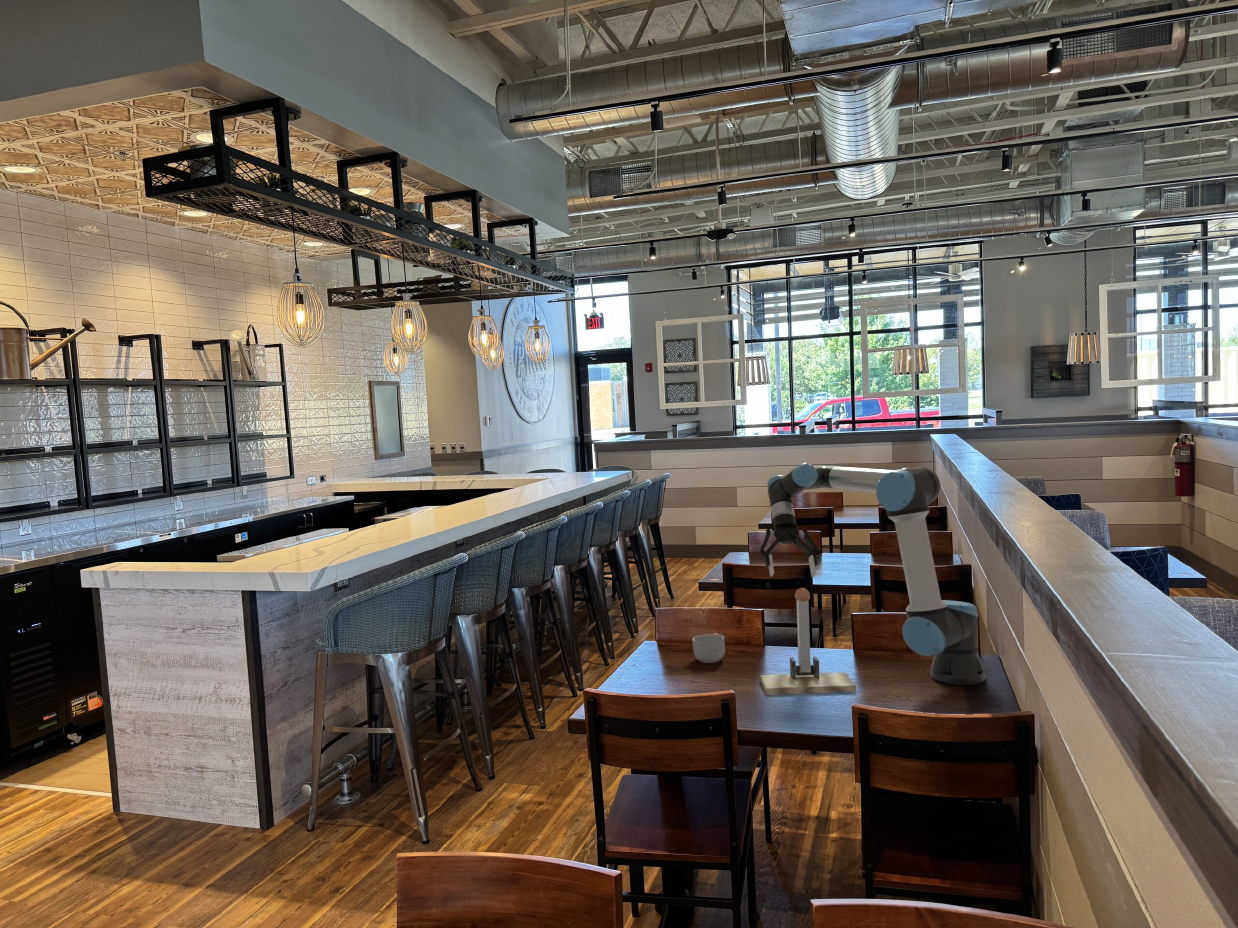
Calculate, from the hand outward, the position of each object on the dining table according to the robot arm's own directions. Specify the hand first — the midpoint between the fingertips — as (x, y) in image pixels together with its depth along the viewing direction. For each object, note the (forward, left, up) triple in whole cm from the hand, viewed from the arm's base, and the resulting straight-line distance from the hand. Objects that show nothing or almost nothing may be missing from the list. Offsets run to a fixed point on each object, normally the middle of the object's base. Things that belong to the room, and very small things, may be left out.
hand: (793, 574), depth 259 cm
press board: (0, +18, -30) cm, 35 cm away
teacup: (+26, -12, -30) cm, 42 cm away
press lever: (0, +15, -28) cm, 32 cm away
